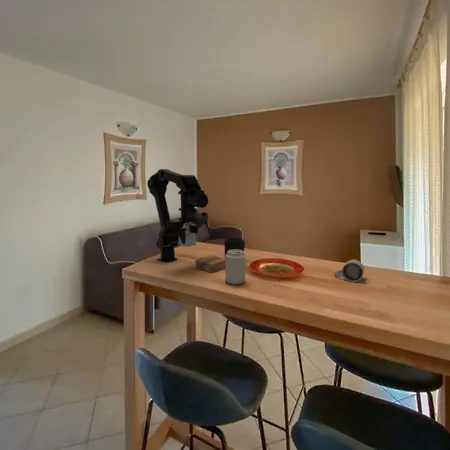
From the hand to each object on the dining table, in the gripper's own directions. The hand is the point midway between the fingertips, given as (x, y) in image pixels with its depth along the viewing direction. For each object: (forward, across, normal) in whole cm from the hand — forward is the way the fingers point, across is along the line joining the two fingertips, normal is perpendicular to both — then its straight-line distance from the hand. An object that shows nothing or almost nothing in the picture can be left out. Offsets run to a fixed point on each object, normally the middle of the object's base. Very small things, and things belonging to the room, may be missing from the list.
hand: (188, 242), depth 128 cm
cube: (+1, 0, +1) cm, 1 cm away
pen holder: (+12, +22, -8) cm, 26 cm away
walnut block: (+12, +7, -7) cm, 15 cm away
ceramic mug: (+12, +32, -57) cm, 66 cm away
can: (+12, 0, -25) cm, 27 cm away
